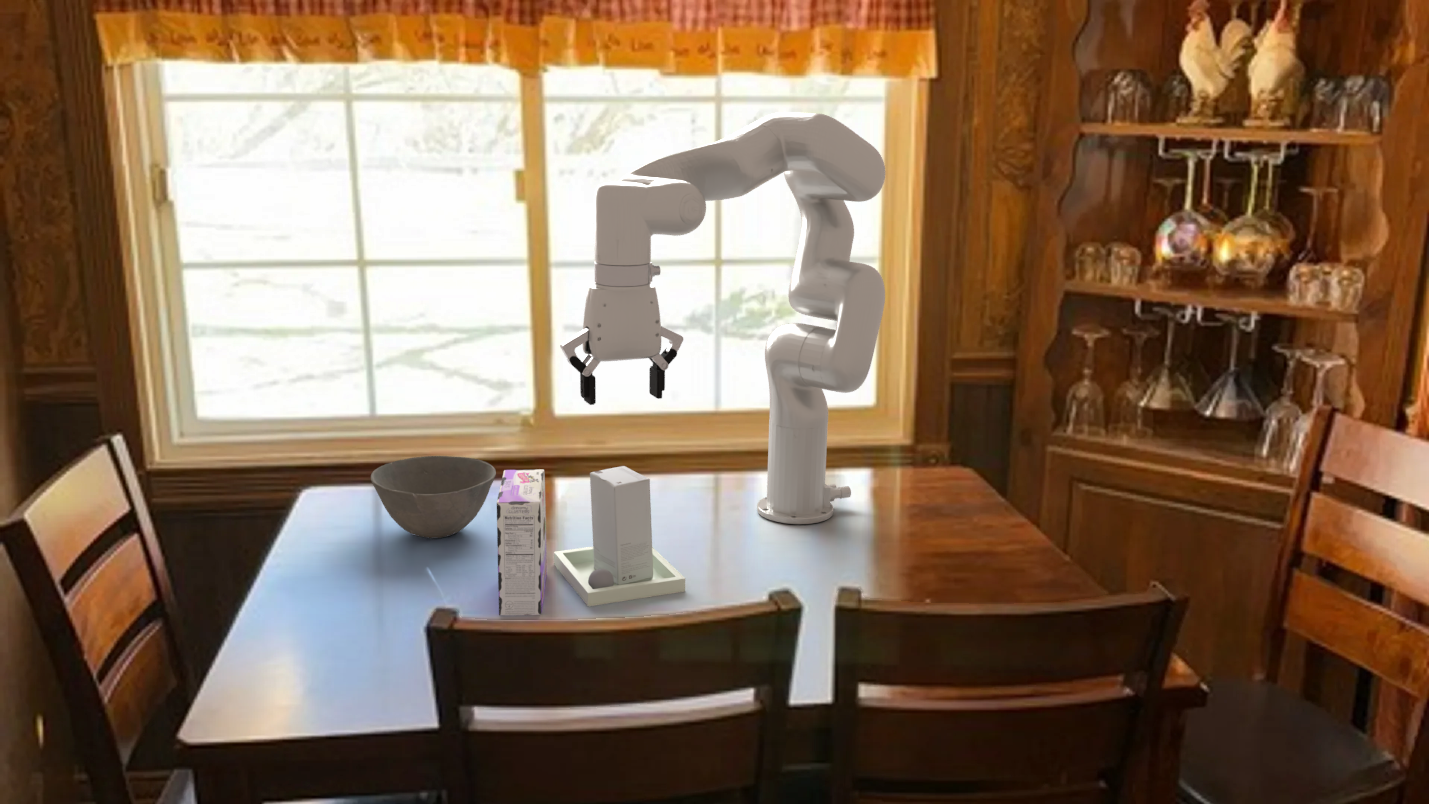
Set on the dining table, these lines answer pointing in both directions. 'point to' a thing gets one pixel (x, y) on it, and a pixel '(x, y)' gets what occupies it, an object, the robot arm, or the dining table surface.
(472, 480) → the bowl
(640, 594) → the tray
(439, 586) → the dining table surface
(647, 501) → the skincare box
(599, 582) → the ball
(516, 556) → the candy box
